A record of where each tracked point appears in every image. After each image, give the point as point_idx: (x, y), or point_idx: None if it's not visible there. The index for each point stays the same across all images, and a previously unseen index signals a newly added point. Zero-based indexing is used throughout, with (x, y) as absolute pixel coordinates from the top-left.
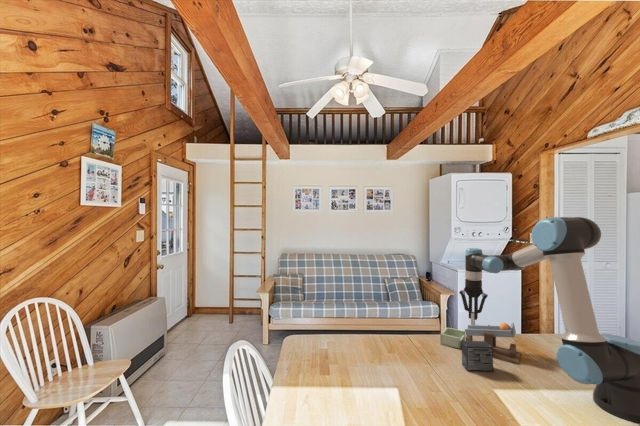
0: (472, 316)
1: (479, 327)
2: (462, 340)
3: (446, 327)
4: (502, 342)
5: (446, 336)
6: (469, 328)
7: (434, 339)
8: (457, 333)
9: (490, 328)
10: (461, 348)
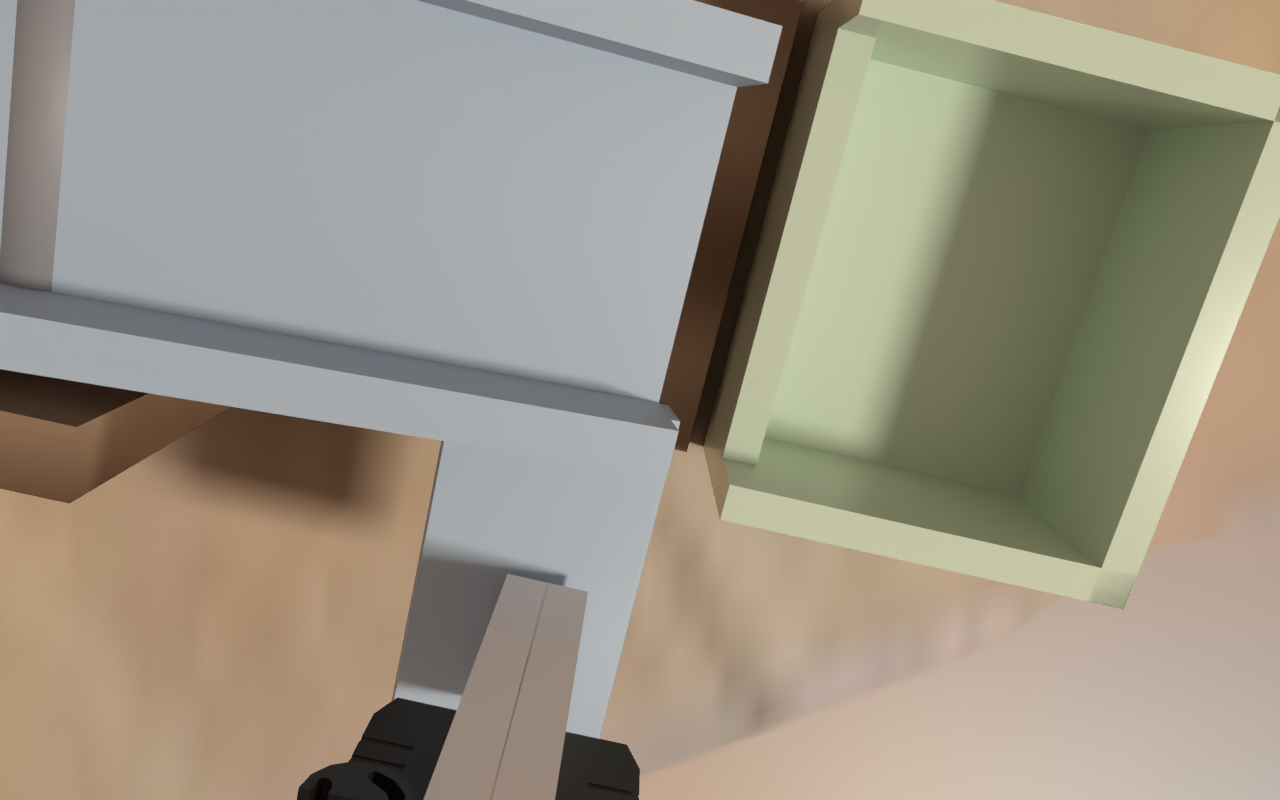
0: (508, 747)
1: (346, 359)
2: (775, 232)
3: (1128, 594)
4: (92, 651)
5: (1171, 52)
6: (629, 398)
7: (1269, 316)
8: (869, 492)
9: (11, 292)
10: (794, 4)
